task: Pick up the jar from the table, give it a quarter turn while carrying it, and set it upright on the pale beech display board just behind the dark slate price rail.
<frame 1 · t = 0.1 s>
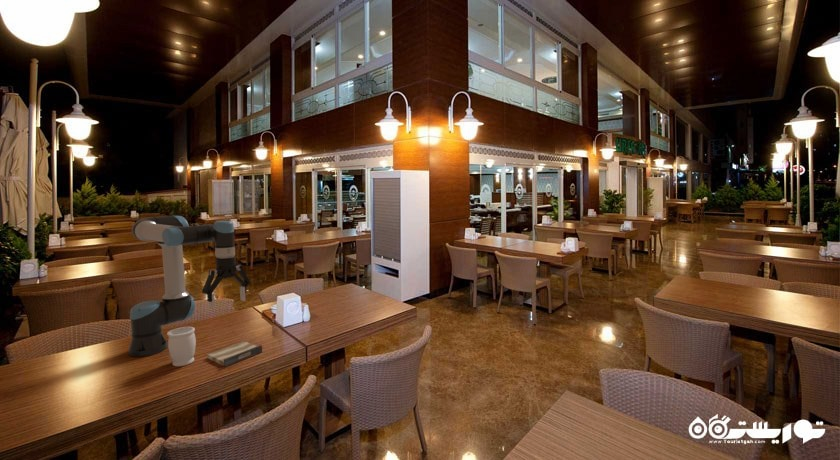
hand: (228, 304, 162), 28 cm above the table, fingers open, 13 cm apart
jar: (183, 362, 168), on the table
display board: (234, 354, 175), on the table
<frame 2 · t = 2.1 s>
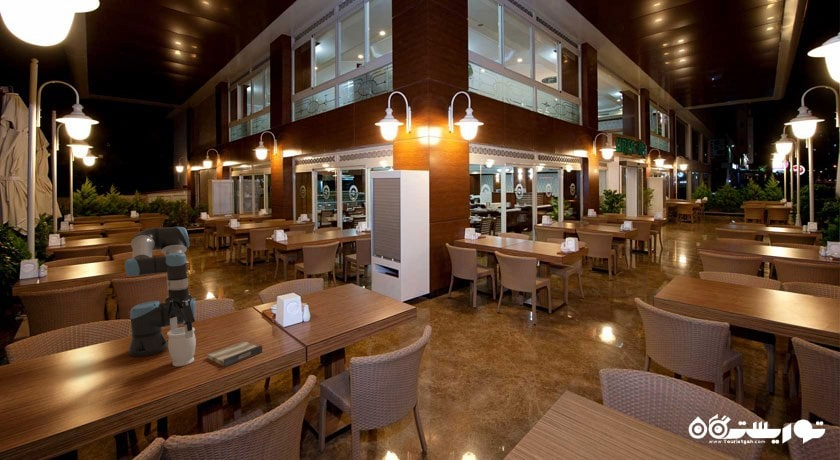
hand: (181, 334, 166), 13 cm above the table, fingers open, 13 cm apart
nothing on the table moved.
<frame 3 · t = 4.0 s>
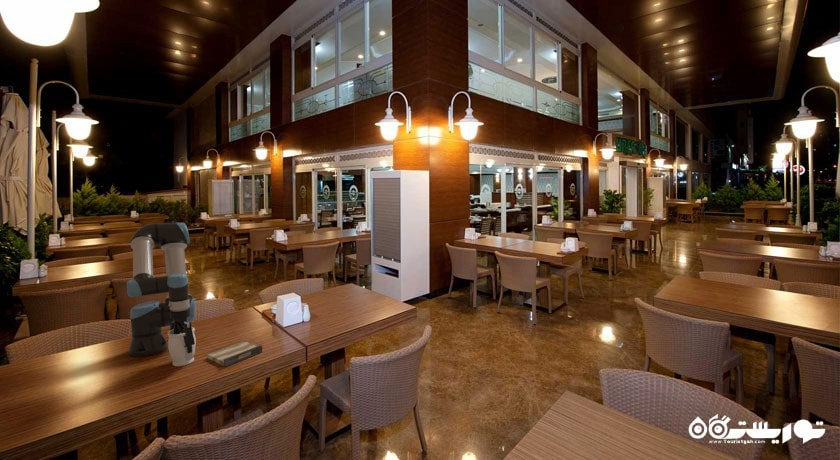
hand: (183, 356, 167), 3 cm above the table, fingers closed on jar, 10 cm apart
jar: (183, 362, 168), on the table, touching gripper
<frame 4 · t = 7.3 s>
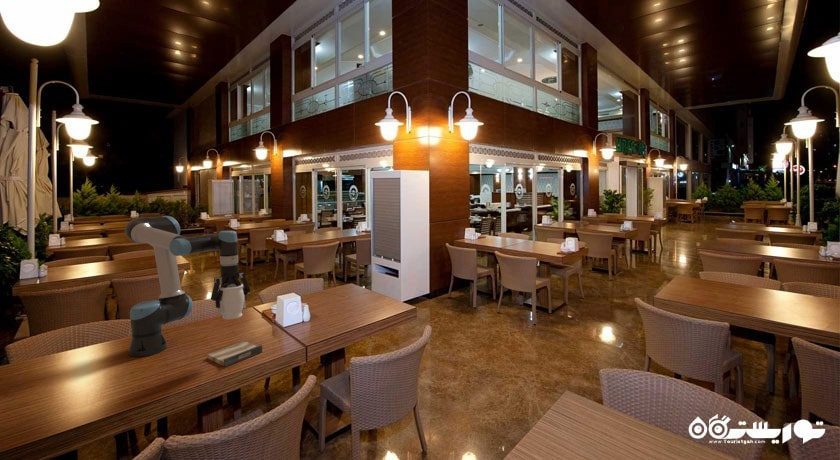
hand: (232, 310, 173), 21 cm above the table, fingers closed on jar, 10 cm apart
jar: (232, 317, 173), point 18 cm above the table, touching gripper
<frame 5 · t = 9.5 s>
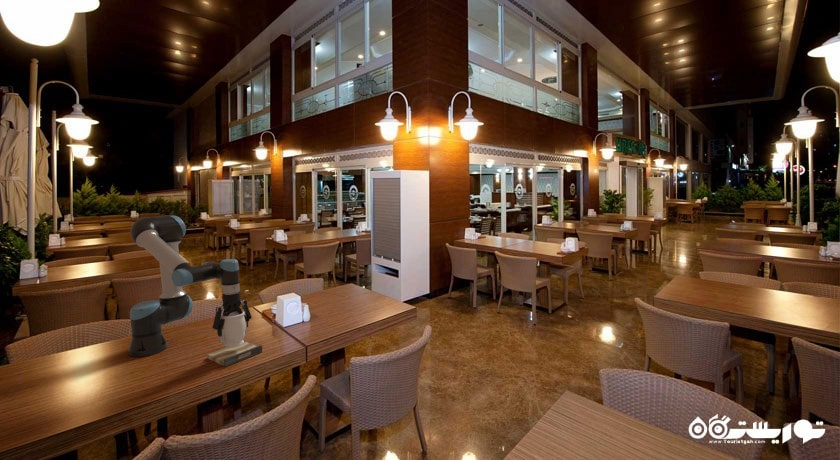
hand: (233, 338, 175), 8 cm above the table, fingers closed on jar, 10 cm apart
jar: (234, 344, 175), point 5 cm above the table, touching gripper
when the fingers open (6 cm above the table, at t = 11.1 s): jar stays where it is, resting on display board.
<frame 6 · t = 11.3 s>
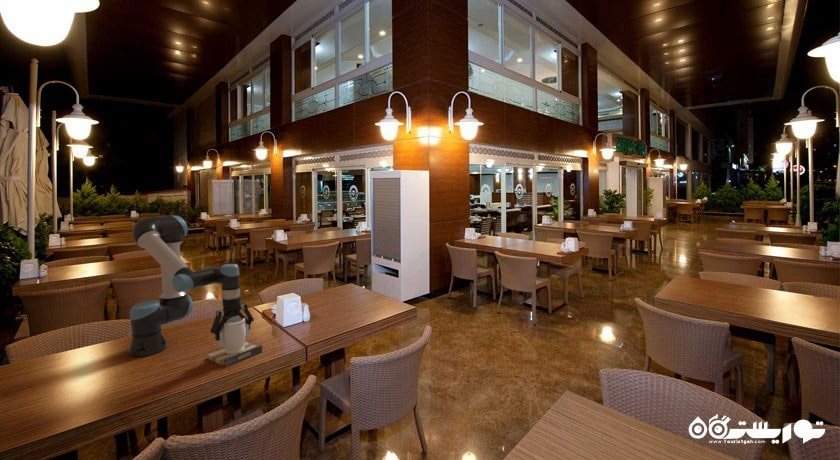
hand: (233, 341, 175), 7 cm above the table, fingers open, 12 cm apart
jar: (234, 351, 175), point 2 cm above the table, touching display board
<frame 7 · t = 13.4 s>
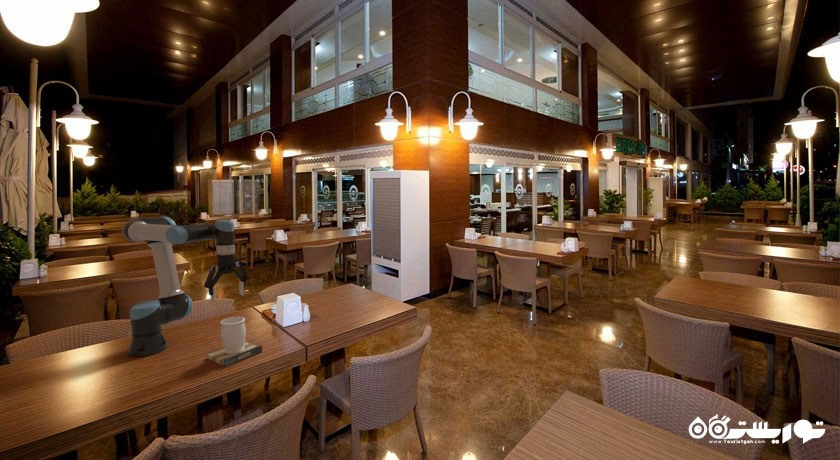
hand: (227, 298, 174), 27 cm above the table, fingers open, 13 cm apart
nothing on the table moved.
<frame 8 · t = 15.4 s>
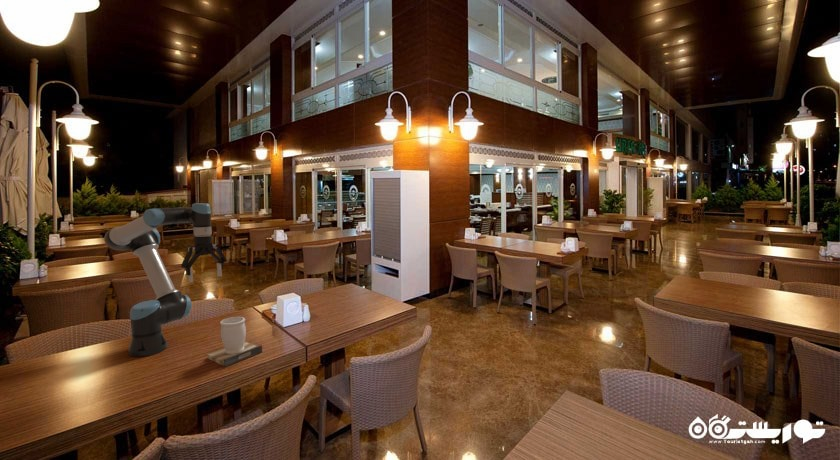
hand: (205, 279, 180), 35 cm above the table, fingers open, 13 cm apart
nothing on the table moved.
at the end: jar inside the target area on the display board (0.0 cm from its centre), point 1.8 cm above the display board's base; jar tilted 0°; the gripper is holding nothing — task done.
